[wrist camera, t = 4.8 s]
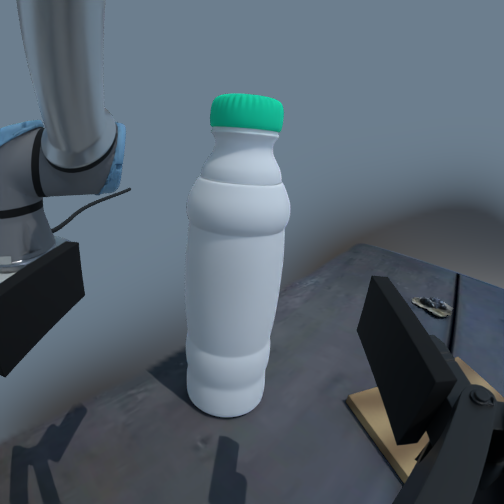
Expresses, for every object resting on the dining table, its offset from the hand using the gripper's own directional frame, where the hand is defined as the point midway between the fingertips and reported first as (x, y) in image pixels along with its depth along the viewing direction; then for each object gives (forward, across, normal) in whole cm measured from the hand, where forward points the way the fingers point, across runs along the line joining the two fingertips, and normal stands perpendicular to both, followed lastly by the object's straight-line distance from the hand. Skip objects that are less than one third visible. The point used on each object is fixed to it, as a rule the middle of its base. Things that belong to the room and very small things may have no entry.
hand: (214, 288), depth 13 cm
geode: (+30, +32, -16) cm, 47 cm away
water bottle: (+9, 0, -16) cm, 19 cm away
